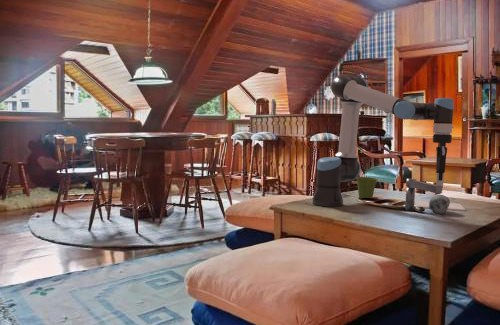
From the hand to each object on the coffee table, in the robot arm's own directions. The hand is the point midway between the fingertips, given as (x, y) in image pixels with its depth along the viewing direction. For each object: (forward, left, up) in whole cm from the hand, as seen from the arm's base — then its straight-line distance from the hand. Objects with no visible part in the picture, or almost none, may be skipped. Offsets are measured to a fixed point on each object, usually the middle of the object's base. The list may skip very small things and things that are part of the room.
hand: (439, 187), depth 198 cm
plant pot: (-32, +42, -14) cm, 55 cm away
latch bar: (-6, +5, -2) cm, 9 cm away
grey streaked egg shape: (+2, +14, -14) cm, 20 cm away
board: (+4, +31, -13) cm, 34 cm away
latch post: (-11, +14, -13) cm, 22 cm away
